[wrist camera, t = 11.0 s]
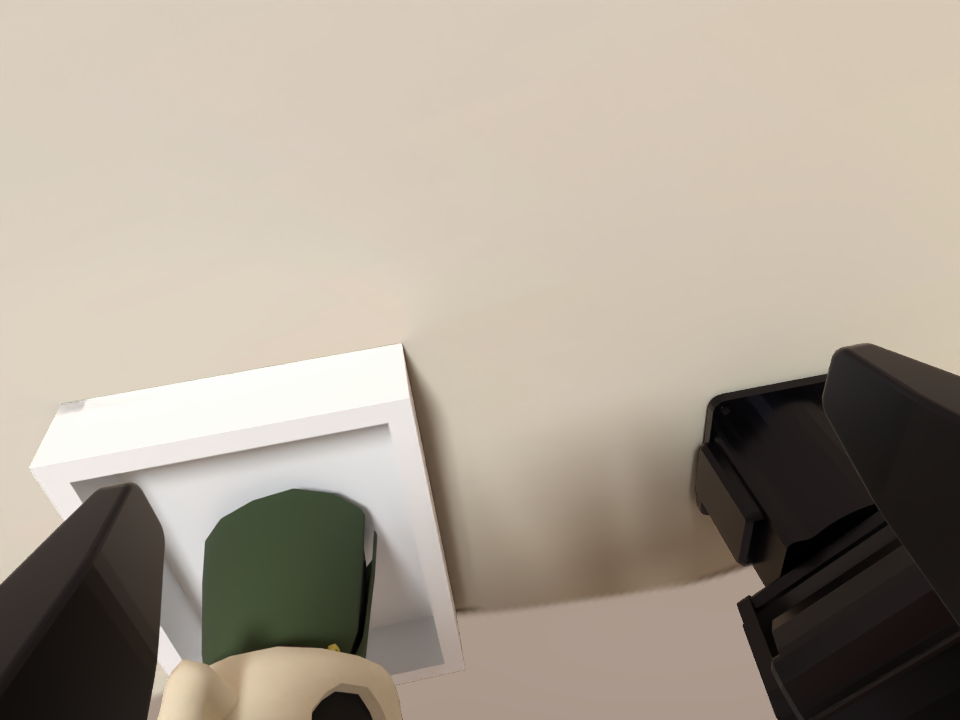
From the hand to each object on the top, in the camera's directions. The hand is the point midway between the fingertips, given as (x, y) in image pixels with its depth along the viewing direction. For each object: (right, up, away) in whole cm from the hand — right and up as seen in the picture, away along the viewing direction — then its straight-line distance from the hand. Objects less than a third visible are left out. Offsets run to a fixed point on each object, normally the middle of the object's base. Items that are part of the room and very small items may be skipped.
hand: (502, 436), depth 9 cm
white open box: (-8, -6, +18) cm, 21 cm away
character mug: (-7, -6, +18) cm, 20 cm away
